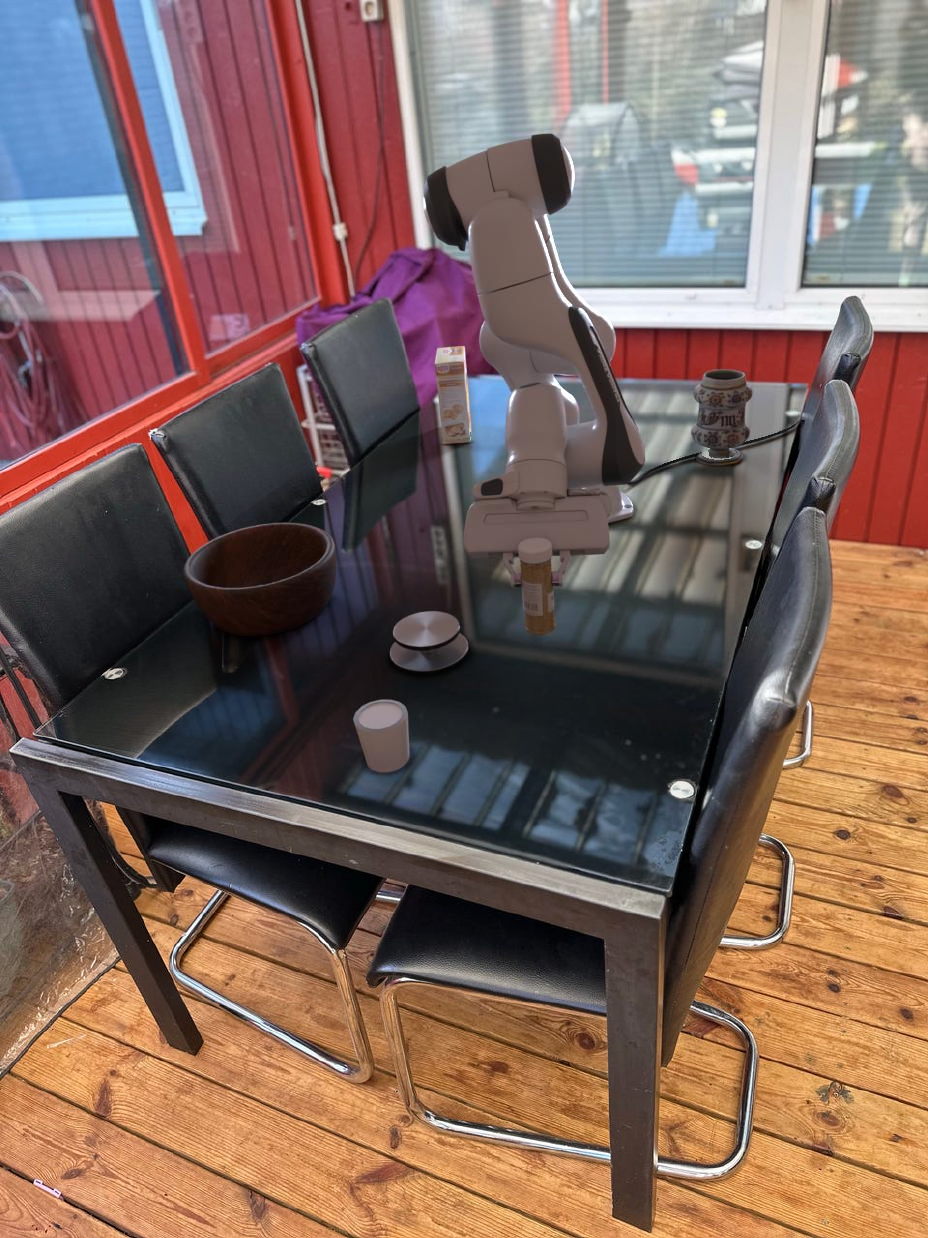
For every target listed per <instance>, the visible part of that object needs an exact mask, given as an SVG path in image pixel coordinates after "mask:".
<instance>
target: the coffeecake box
mask: <svg viewBox="0 0 928 1238" xmlns="http://www.w3.org/2000/svg"><path fill="white" fill-rule="evenodd" d="M435 353H436V354H435V358H434V359H435V360H434V369H435V379H436V389H437V398H438V408H439V418H440V426H441V427H440V429H441V436H442V445H448V444H449V445H450V444H465V443H472V442H471V441H472V436H471V437H470V432H471V433H472V419H471V405H470V395H469V384H468V372H467V371H468V370H467V360H466V347H465V345H457V346H447V347H437V349H436V352H435ZM468 437H470V439H463V438H468ZM458 439H460V440H458Z"/></svg>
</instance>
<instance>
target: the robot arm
mask: <svg viewBox="0 0 928 1238" xmlns="http://www.w3.org/2000/svg"><path fill="white" fill-rule="evenodd" d="M574 184H575V168H574V163H573V160H572V158H571V155H570V153H569V151H568V149H567V148H566V147H565V145H564V144H563V143H562V140H561V138H559V137H558V136H557V135H555V134H554V133H547V132H546V133H536V134H532V135H531V137H530V138H524V139H518V140H513V141H509V142H506V143H501V144H498V145H494V146H491V147H488V148H487V149H486V150H483V151H481V152H478V153H475V154H472V155H470V156H469V157H466V158H463V159H461V160H459V161H457V162H455V163H453V164H451V165H449V166H446V165H443V166H441V167H440V168H438V169H436V170H435V171H433V172H431V173H430V174H429V175H427V177H426V179H425V182H424V184H423V187H422V192H423V193H422V194H423V195H422V206H423V207H422V209H423V213H424V216H425V219H426V223H427V224H428V226H429V227H430V229H431V230H432V231H433V233H434V235H435V237H436V239H438V240H439V241H441V242H442V243H444V244H446V245H447V246H451V247H457V248H458V249H459V251H460V252H465V251H466V248H467V247H466V246H467V245H466V244H467V243H468V251H469V252H468V253H469V260H470V266H471V272H472V277H473V278H472V279H473V282H474V287H475V290H476V294H477V299H478V302H479V307H480V309H481V310H480V311H481V313H482V316H483V319H484V320H483V323H482V325H481V326H480V330H479V336H478V343H479V344H478V345H479V348H480V351H481V354H482V357H483V359H484V360H485V361H486V362H487V363H488V364H489V365H490V366H491V367H493V368H494V369H495V370H496V371H497V373H498V374H499V375H500V376H501V378H502V379H503V380H504V382H505V384H506V386H507V387H508V389H509V390H510V394H509V397H508V401H507V407H506V414H505V425H504V426H505V428H504V445H505V449H506V453H507V460H506V463H505V468H504V473H502V474H500V475H498V476H494V477H492V478H489V479H486V480H483V481H480V482H478V483H476V484H475V485H474V486H473V488H472V498H473V501H474V502H473V503H472V504H471V505H470V506H469V508H468V510H467V512H466V518H465V524H464V529H463V531H464V532H463V549H464V551H465V553H466V555H467V556H468V557H469V558H470V559H474V560H477V559H502V563H503V565H504V566H505V568H506V571H508V573H509V575H510V586H511V587H510V588H513V589H515V588H516V589H517V588H522V581H521V571H520V572H516V571H515V569H514V567H513V565H514V564H515V558H519V554H518V546H519V544H520V542H522V541H523V540H525V539H528V538H534V537H539V538H545V539H547V540H549V541H550V542H551V544H552V557H559V559H560V560H559V561H560V563H561V564H560V566H559V567H558V570H556V571H555V570H554V571H553V570H552V586H553V587H564V575H565V573H566V572H567V570H568V569H569V567H570V565H571V564H572V563H571V562H572V561H571V560H572V559H571V558H572V557H571V556H593V555H594V556H595V555H596V556H599V555H605V554H607V552H608V551H609V549H610V547H611V539H610V538H611V537H610V527H609V524H611V523H614V522H619V521H621V520H625V519H629V518H631V517H633V515H634V512H635V510H634V504H633V502H632V500H631V499H630V498H629V497H628V496H627V495H626V494H625V493H623V492H622V491H621V488H620V486H625V485H628V486H634V485H637V484H638V483H640V482H641V481H642V480H644V478H645V477H647V476H648V475H649V474H651V473H653V472H655V471H657V470H659V469H662V468H665V467H666V466H670V465H673V464H676V463H679V462H683V461H685V460H689V459H692V458H695V457H696V456H697V455H698V454H700V453H702V452H700V453H696V454H692V455H689V456H685V457H682V458H679V459H676V460H673V461H670V462H667V463H664V464H662V465H659V466H657V467H655V468H653V469H650V470H648V469H647V470H648V471H646V470H645V471H643V472H642V473H641V474H640V475H639V476H638V477H637V475H638V474H639V473H640V471H642V469H643V467H644V465H645V463H646V449H645V442H644V439H643V436H642V434H641V432H640V430H639V428H638V426H637V423H636V421H635V419H634V418H633V416H632V413H631V412H630V410H629V408H628V405H627V404H626V401H625V399H624V396H623V394H622V391H621V389H620V387H619V383H618V381H617V378H616V377H615V374H614V372H613V369H612V366H611V361H612V360H613V358H614V356H615V352H616V347H617V336H616V331H615V329H614V326H613V323H611V321H610V319H609V318H608V317H606V316H605V315H603V314H601V313H600V312H598V311H597V310H595V309H594V308H592V306H590V304H588V303H587V302H586V301H585V300H584V299H583V298H582V297H581V296H580V295H579V294H578V292H577V291H576V290H575V288H574V287H573V286H572V284H571V283H570V281H569V280H568V278H567V276H566V275H565V272H564V270H563V267H562V264H561V262H560V258H559V255H558V251H557V249H556V245H555V241H554V237H553V234H552V229H551V226H550V222H549V219H548V216H547V215H549V216H552V215H554V214H555V213H557V212H559V211H561V210H562V209H563V208H565V207H567V205H568V204H569V202H570V201H571V199H572V198H573V190H574ZM555 375H556V376H566V377H579V380H580V382H581V385H582V388H583V390H584V392H585V395H586V397H587V399H588V402H589V404H590V406H591V409H592V411H593V413H594V416H595V419H594V420H591V421H585V422H580V407H579V404H578V402H577V400H576V398H575V397H574V396H573V395H572V394H571V393H570V392H568V391H567V390H566V389H564V388H563V387H562V386H561V385H560V383H559V382H558V381H557V379H556V377H555ZM799 421H801V419H800V420H799ZM799 421H798V422H797V423H796V424H794V425H792V426H791V427H789V428H787V429H784V430H782V431H779V432H777V433H774V434H771V435H768V436H765V437H761V438H758V439H754V440H750V441H746V442H744V443H742V444H741V445H738V446H736V447H732V448H733V449H736V448H738V447H742V446H746V445H751V444H754V443H758V442H761V441H764V440H767V439H770V438H773V437H776V436H779V435H782V434H784V433H786V432H789V431H790V430H793V428H795V427H796V426H797V424H798V423H799ZM636 477H637V478H636Z"/></svg>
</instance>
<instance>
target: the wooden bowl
mask: <svg viewBox="0 0 928 1238" xmlns="http://www.w3.org/2000/svg"><path fill="white" fill-rule="evenodd" d="M336 551H337V550H336V544H335V541H334V539H333V537H332V536H331V534H329V533H328V532H327V531H326V530H324V529H321V528H319V527H317V526H313V525H310V524H307V523H306V524H305V523H298V522H273V523H264V524H257V525H251V526H248V527H244V528H240V529H236V530H233V531H231V532H228V533H224V534H222V535H220V536H218V537H216V538H215V537H214V538H213V539H211V540H209V541H208V542H206V543H204V544H203V545H201V546H200V547H198V548H197V549H196V550H195V551H193V552H192V554H191V555H189V557H188V558H187V560H186V561H185V563H184V565H183V578H184V581H185V584H186V586H187V588H188V590H189V593H190V595H191V597H192V598H193V600H194V602H195V604H196V605H197V607H198V609H199V610H200V612H201V613H202V614H203V616H204V617H205V618H206V619H207V621H209V622H210V623H211V624H212V625H214V626H215V627H216V628H218V629H219V630H221V631H223V632H226V633H229V634H231V635H236V636H243V637H261V636H263V637H264V636H270V635H275V634H279V633H284V632H287V631H290V630H293V629H296V628H298V627H300V626H302V625H305V624H306V623H308V622H310V621H312V620H313V619H314V618H316V617H317V616H318V615H319V614H320V613H322V611H323V610H324V609H325V608H326V607H327V605H328V604H329V602H330V599H331V598H332V596H333V592H334V589H335V586H336V585H335V584H336V579H337V578H336V577H337V552H336Z"/></svg>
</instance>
